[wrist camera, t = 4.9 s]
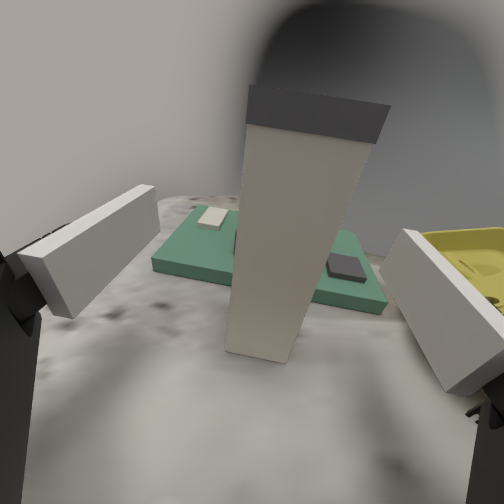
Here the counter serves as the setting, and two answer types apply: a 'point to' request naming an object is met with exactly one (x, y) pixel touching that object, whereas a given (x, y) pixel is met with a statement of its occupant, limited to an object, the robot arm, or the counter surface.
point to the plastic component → (475, 258)
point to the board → (223, 250)
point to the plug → (292, 209)
